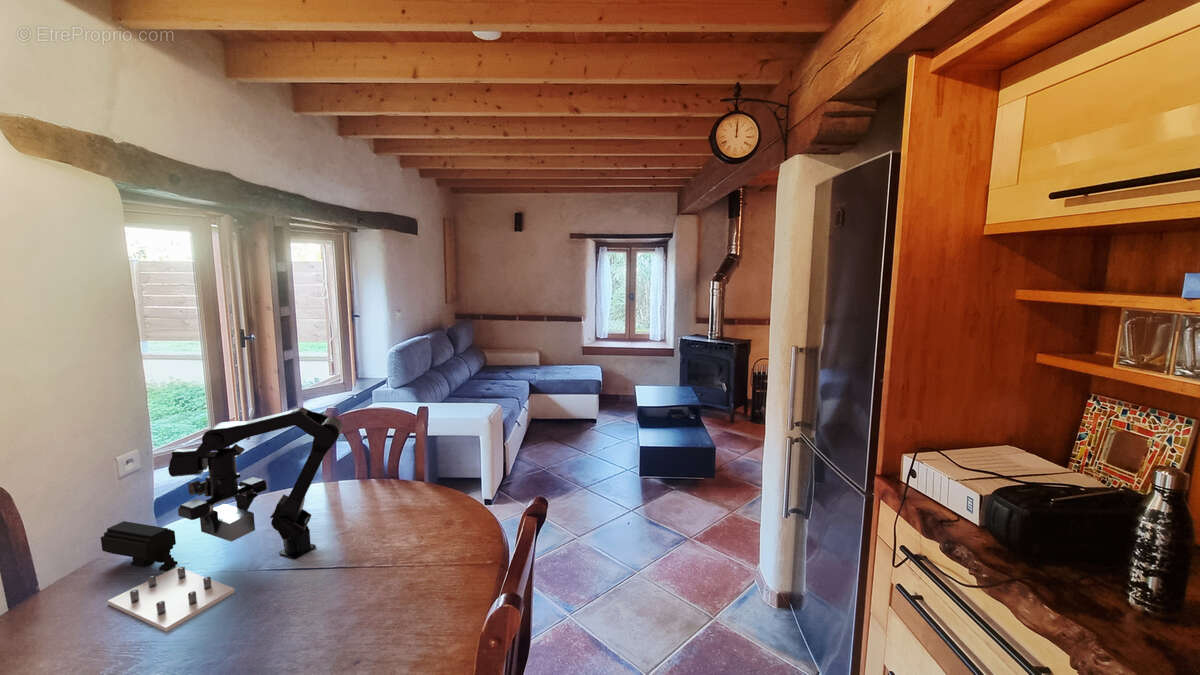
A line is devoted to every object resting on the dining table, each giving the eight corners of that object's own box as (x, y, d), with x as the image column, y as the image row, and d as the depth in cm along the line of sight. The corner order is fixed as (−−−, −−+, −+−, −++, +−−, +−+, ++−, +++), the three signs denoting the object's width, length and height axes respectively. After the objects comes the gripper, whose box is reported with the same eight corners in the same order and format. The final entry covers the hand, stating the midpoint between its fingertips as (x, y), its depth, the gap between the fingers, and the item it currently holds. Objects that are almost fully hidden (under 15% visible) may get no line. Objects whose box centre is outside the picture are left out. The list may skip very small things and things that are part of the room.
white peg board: (234, 592, 118) (233, 579, 117) (166, 631, 105) (164, 617, 104) (178, 570, 126) (176, 557, 125) (108, 604, 113) (106, 590, 112)
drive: (255, 530, 130) (253, 512, 129) (231, 541, 124) (229, 523, 123) (225, 520, 134) (223, 503, 133) (201, 531, 128) (199, 513, 127)
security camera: (158, 577, 123) (154, 541, 121) (102, 566, 126) (97, 531, 125) (187, 561, 129) (183, 526, 128) (132, 551, 133) (128, 517, 131)
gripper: (239, 454, 138) (243, 505, 140) (161, 480, 121) (167, 538, 123) (266, 460, 134) (270, 513, 136) (189, 488, 117) (195, 548, 119)
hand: (227, 527), depth 129 cm, fingers closed on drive, 6 cm apart
